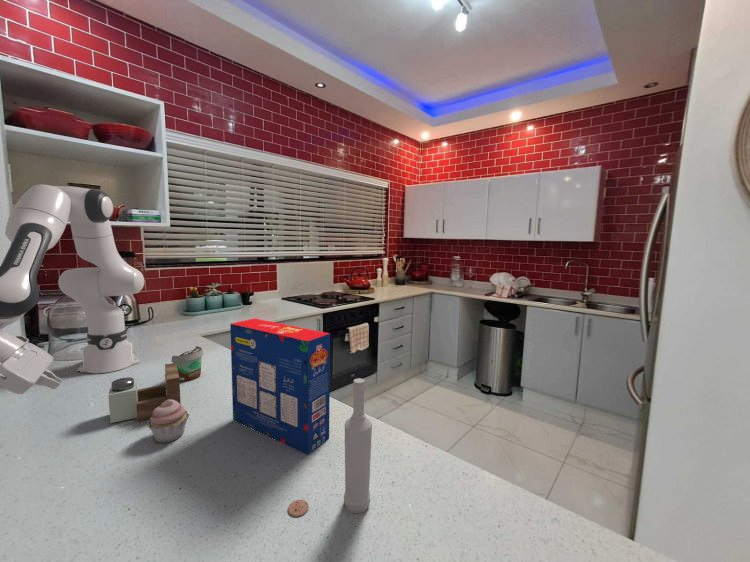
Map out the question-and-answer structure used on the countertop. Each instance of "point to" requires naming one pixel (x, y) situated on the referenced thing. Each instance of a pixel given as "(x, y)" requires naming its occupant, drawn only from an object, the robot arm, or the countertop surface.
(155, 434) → the cupcake
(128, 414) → the sliding knob
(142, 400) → the walnut mount
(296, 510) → the cookie
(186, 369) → the food container
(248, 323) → the pasta box
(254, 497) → the countertop surface
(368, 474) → the bottle
